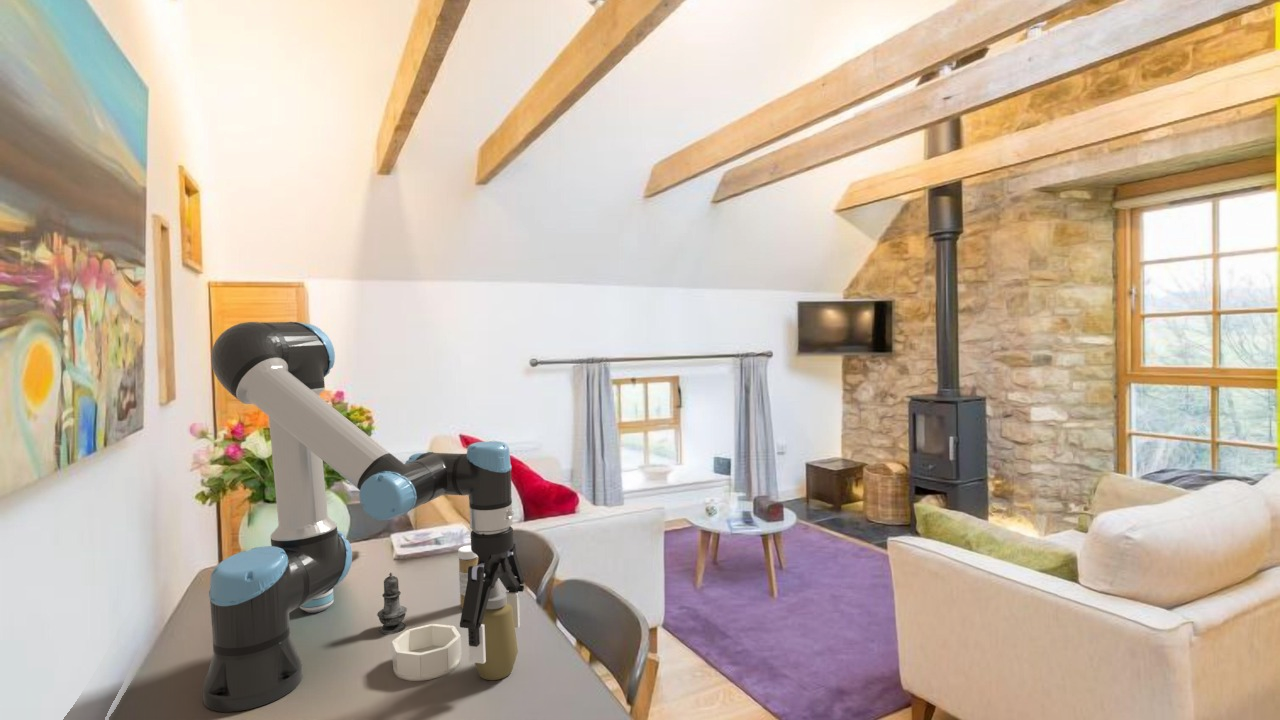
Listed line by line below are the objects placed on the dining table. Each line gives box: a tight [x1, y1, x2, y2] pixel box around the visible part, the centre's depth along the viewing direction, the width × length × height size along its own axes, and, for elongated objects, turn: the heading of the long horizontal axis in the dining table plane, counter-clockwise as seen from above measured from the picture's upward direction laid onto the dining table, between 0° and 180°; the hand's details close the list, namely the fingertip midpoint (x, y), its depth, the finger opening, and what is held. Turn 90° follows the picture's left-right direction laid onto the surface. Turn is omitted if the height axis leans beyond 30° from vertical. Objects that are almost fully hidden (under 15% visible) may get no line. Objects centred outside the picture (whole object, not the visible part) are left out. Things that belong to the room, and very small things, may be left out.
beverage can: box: [299, 588, 334, 614], centre depth 147 cm, size 7×7×12 cm
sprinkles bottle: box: [457, 544, 478, 609], centre depth 147 cm, size 5×5×13 cm
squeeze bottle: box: [474, 580, 519, 681], centre depth 118 cm, size 8×8×18 cm
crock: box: [391, 623, 463, 682], centre depth 122 cm, size 12×12×5 cm
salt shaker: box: [376, 572, 408, 635], centre depth 136 cm, size 6×6×12 cm
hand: (496, 643), depth 118 cm, fingers open, 13 cm apart
